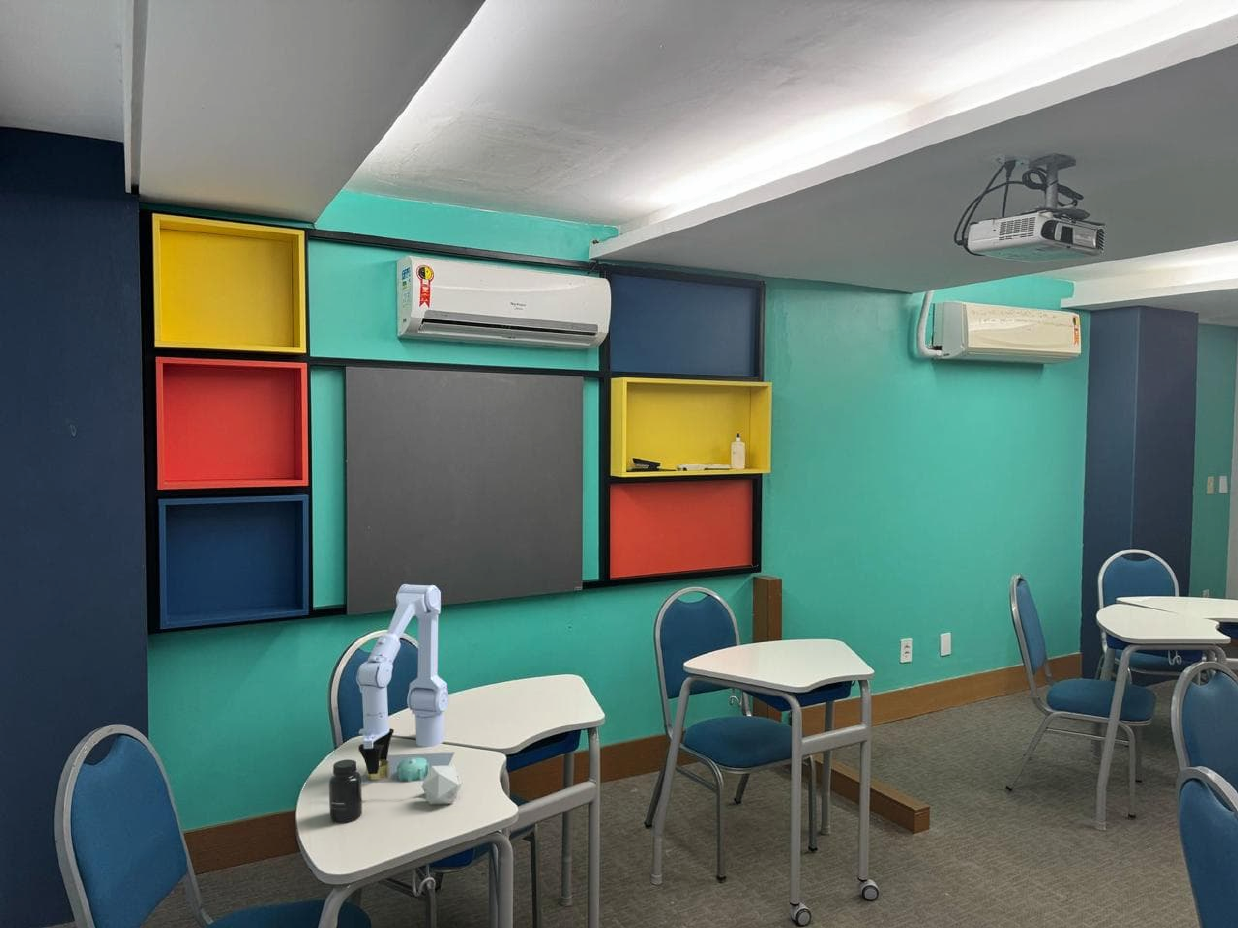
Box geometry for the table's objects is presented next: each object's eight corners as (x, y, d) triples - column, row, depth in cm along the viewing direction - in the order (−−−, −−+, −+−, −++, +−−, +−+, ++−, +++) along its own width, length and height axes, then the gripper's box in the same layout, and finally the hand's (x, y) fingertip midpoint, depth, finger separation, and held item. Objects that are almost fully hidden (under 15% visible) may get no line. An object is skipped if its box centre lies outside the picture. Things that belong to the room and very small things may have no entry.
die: (442, 816, 184) (466, 775, 186) (410, 795, 185) (434, 755, 188) (449, 813, 192) (472, 774, 194) (418, 793, 193) (441, 754, 196)
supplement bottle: (331, 826, 179) (328, 771, 178) (328, 813, 185) (326, 760, 185) (364, 819, 182) (362, 765, 181) (360, 807, 188) (358, 754, 187)
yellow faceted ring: (370, 772, 204) (370, 759, 204) (391, 771, 205) (390, 758, 204) (364, 781, 199) (364, 767, 199) (385, 780, 200) (385, 767, 199)
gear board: (377, 758, 215) (376, 740, 215) (454, 756, 216) (453, 737, 216) (357, 787, 198) (356, 767, 198) (441, 784, 199) (440, 764, 198)
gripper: (367, 702, 208) (369, 755, 209) (349, 722, 194) (352, 779, 195) (395, 701, 209) (397, 754, 209) (379, 721, 194) (382, 778, 195)
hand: (377, 766), depth 202 cm, fingers open, 7 cm apart
